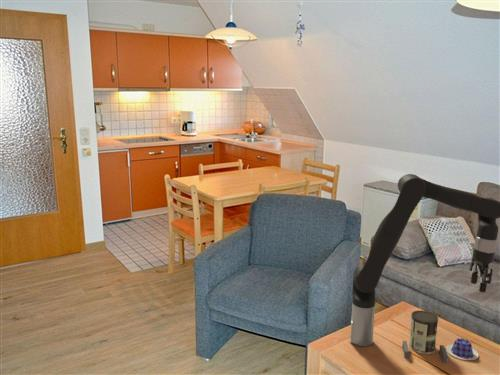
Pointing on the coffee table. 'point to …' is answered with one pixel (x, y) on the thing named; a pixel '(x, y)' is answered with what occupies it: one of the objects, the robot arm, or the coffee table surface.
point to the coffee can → (423, 332)
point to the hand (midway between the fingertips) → (477, 287)
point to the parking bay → (442, 351)
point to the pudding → (462, 349)
